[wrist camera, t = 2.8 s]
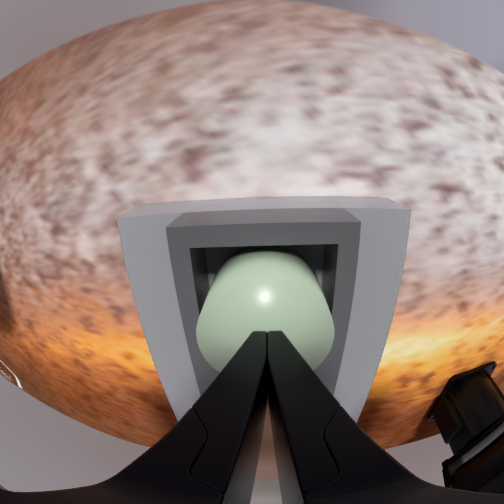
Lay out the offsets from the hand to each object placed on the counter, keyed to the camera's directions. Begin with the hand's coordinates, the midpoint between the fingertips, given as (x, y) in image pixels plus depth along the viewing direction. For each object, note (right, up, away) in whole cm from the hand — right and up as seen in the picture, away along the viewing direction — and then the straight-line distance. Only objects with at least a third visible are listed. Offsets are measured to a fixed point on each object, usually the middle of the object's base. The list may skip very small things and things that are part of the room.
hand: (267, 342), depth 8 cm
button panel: (+1, -3, +8) cm, 8 cm away
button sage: (0, +1, +2) cm, 3 cm away
